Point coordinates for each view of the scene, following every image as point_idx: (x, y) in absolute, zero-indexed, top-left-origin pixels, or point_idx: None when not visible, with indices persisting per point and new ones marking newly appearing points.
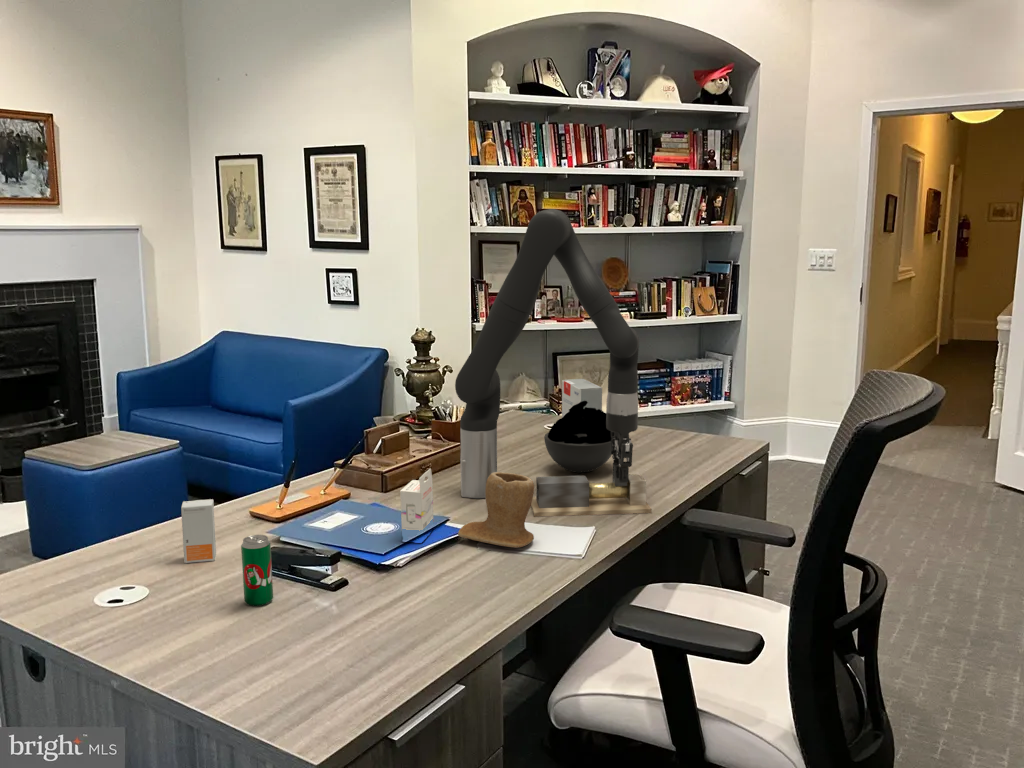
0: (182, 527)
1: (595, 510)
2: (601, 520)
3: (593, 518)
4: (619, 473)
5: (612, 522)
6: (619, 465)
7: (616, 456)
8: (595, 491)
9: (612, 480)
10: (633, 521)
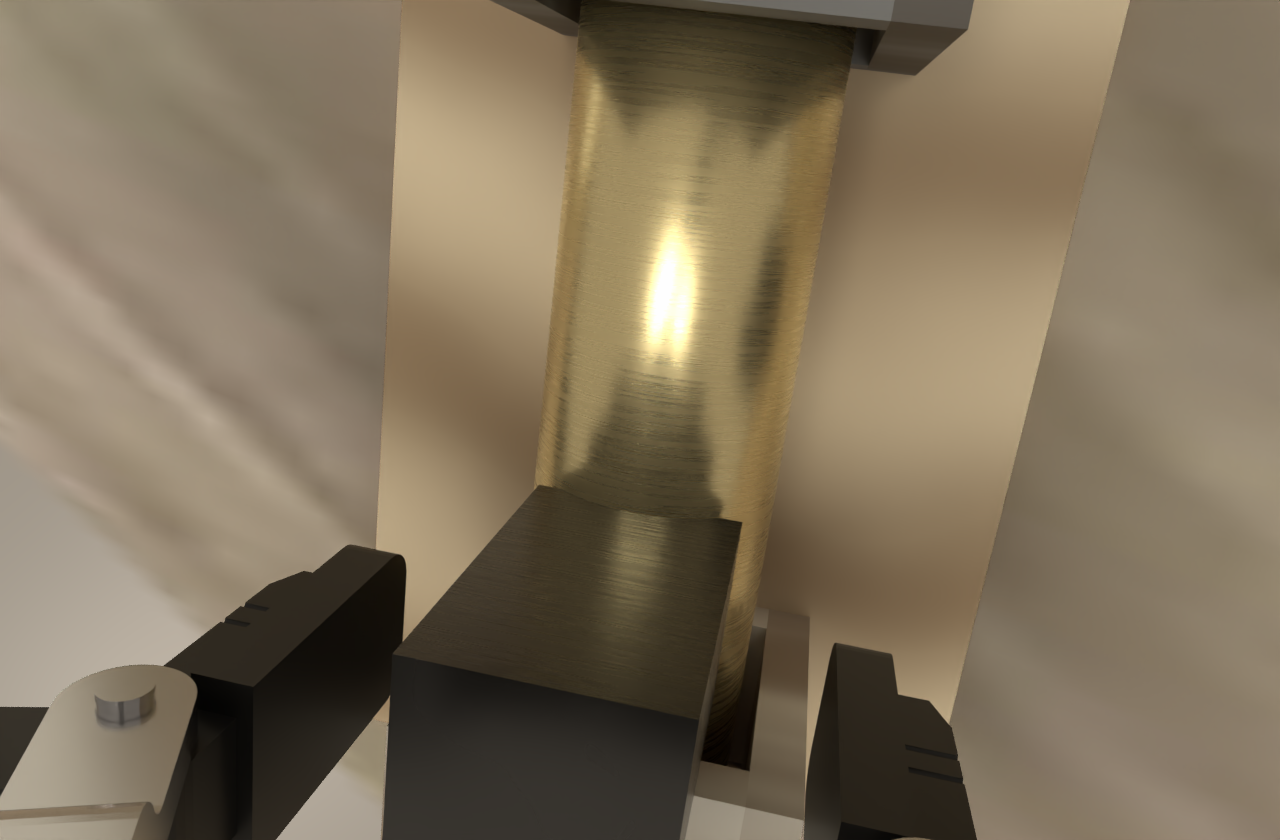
0: None
1: (404, 78)
2: (229, 93)
3: (303, 16)
4: (274, 609)
5: (160, 197)
6: (110, 688)
7: (100, 807)
8: (568, 144)
9: (738, 536)
10: (174, 425)
